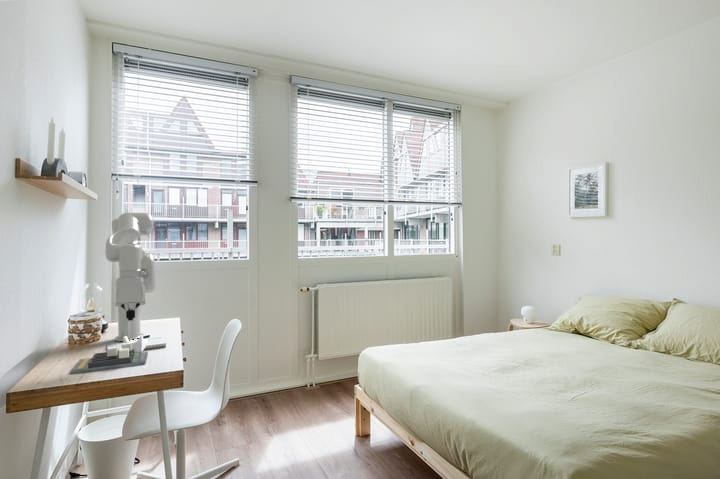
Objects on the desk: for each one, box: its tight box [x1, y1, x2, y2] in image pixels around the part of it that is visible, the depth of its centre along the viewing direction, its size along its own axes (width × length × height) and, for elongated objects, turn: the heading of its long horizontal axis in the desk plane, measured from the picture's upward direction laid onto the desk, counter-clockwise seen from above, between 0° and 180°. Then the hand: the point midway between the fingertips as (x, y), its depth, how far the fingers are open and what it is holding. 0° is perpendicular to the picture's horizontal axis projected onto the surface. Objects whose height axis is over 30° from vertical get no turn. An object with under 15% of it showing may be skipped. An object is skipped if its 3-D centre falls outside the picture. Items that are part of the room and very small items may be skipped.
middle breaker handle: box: [106, 346, 119, 357], centre depth 157 cm, size 3×3×5 cm
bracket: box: [122, 335, 149, 353], centre depth 176 cm, size 13×7×8 cm, turn 17°
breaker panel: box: [71, 349, 149, 374], centre depth 157 cm, size 15×24×3 cm, turn 115°
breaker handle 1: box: [121, 342, 132, 351], centre depth 164 cm, size 3×3×5 cm
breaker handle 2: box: [118, 348, 129, 359], centre depth 155 cm, size 3×3×5 cm
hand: (130, 319), depth 160 cm, fingers closed
